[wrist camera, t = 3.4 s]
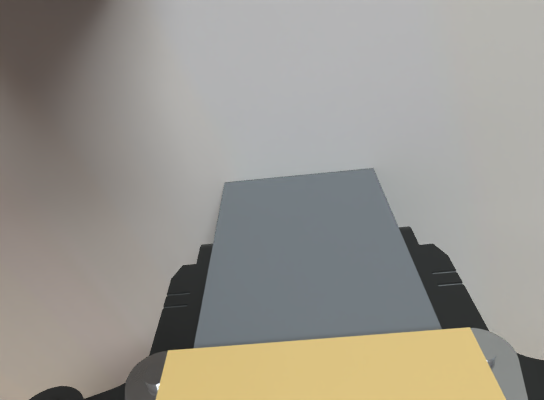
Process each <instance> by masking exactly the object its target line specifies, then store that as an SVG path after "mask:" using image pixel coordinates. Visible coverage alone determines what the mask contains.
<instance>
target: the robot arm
mask: <svg viewBox="0 0 544 400" xmlns="http://www.w3.org/2000/svg"><path fill="white" fill-rule="evenodd" d="M399 230H400V232H401V234H402V237H403V239H404V241H405V244H406V246H407V248H408V251H409V253H410V255H411V258H412V260H413V262H414V265H415V267H416V269H417V272H418V274H419V276H420V279H421V281H422V283H423V286H424V288H425V290H426V293H427V295H428V297H429V300H430V302H431V304H432V307H433V309H434V312H435V314H436V316H437V319H438V321H439V323H440V326H441V328H442V329H454V328H467V327H470V328H471V330H472V332H473V334H474V336H475V338H476V340H477V342H478V344H479V346H480V348H481V350H482V352H483V354H484V356H485V358H486V360H487V362H488V364H489V366H490V368H491V370H492V372H493V374H494V376H495V378H496V380H497V382H498V384H499V386H500V388H501V390H502V392H503V394H504V396H505V398H506V400H544V360H539V359H534V358H529V357H526V356H523V355H520V354H518V353H516V352H515V350H514V349H513V347H512V346H511V345H510V344H509V343H508V342H507V341H506V340H504V339H503V338H501V337H500V336H498V335H496V334H494V333H492V332H489V330H488V328H487V326H486V325H485V323H484V321H483V319H482V317H481V315H480V314H479V312H478V310H477V308H476V306H475V304H474V303H473V301H472V299H471V297H470V295H469V293H468V291H467V290H466V288H465V286H464V285H463V284H462V280H461V279H460V277H459V275H458V273H456V269H455V268H454V266H453V264H452V262H451V260H450V258H449V256H448V255H447V254H445V253H444V252H443V251H441V250H440V249H439V248H438V247H436V246H435V245H434V244H426V245H419V244H418V242H417V239H416V237H415V235H414V233H413V231H412V229H411V227H399ZM212 248H213V244H205V245H201V247H200V251H199V255H198V259H197V264H192V265H183V266H182V267H181V268H180V269H179V271H178V272H177V273H176V274H175V275H174V276H173V278H172V279H171V282H170V286H169V289H168V293H167V297H166V299H165V303H164V309H163V310H162V313H161V317H160V320H159V324H158V327H157V331H156V334H155V337H154V341H153V344H152V348H151V351H150V355H149V356H148V357H146V358H145V359H143V360H142V361H141V362H139V363H138V364H137V365H136V366H135V367H134V368H133V369H132V371H131V372H130V374H129V376H128V378H127V380H126V383H124V384H122V385H121V386H119V387H116V388H114V389H111V390H108V391H106V392H103V393H100V394H97V395H94V396H92V397H89V398H86V399H84V398H83V396H82V394H81V393H80V392H79V391H78V390H76V389H75V388H72V387H67V386H59V387H54V388H50V389H47V390H45V391H43V392H41V393H39V394H37V395H35V396H34V397H32V398H31V399H30V400H156V396H157V392H158V388H159V384H160V380H161V376H162V372H163V368H164V364H165V360H166V356H167V352H168V350H180V349H193V348H194V343H195V337H196V332H197V327H198V322H199V316H200V311H201V306H202V300H203V295H204V290H205V285H206V279H207V274H208V269H209V263H210V258H211V253H212Z"/></svg>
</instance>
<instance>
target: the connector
mask: <svg viewBox="0 0 544 400" xmlns="http://www.w3.org/2000/svg"><path fill="white" fill-rule="evenodd" d="M156 400H506V398H505V396H504V394H503V392H502V390H501V388H500V386H499V384H498V382H497V380H496V378H495V376H494V374H493V372H492V370H491V368H490V366H489V364H488V362H487V360H486V358H485V356H484V354H483V352H482V350H481V348H480V346H479V344H478V342H477V340H476V338H475V336H474V334H473V332H472V330H471V328H470V327H467V328H454V329H442V328H441V326H440V323H439V321H438V319H437V316H436V314H435V312H434V309H433V307H432V304H431V302H430V300H429V297H428V295H427V293H426V290H425V288H424V286H423V283H422V281H421V279H420V276H419V274H418V272H417V269H416V267H415V265H414V262H413V260H412V258H411V255H410V253H409V251H408V248H407V246H406V244H405V241H404V239H403V237H402V234H401V232H400V230H399V227H398V225H397V223H396V220H395V218H394V216H393V213H392V211H391V209H390V206H389V204H388V201H387V199H386V197H385V194H384V192H383V190H382V187H381V185H380V183H379V180H378V178H377V176H376V173H375V171H374V169H373V168H371V169H360V170H350V171H340V172H329V173H319V174H309V175H298V176H288V177H277V178H267V179H257V180H246V181H236V182H226V183H225V184H224V189H223V195H222V200H221V205H220V211H219V216H218V221H217V226H216V232H215V237H214V242H213V248H212V253H211V258H210V263H209V269H208V274H207V279H206V285H205V290H204V295H203V300H202V306H201V311H200V316H199V322H198V327H197V332H196V337H195V343H194V348H193V349H180V350H168V352H167V356H166V360H165V364H164V368H163V372H162V376H161V380H160V384H159V388H158V392H157V396H156Z"/></svg>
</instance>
